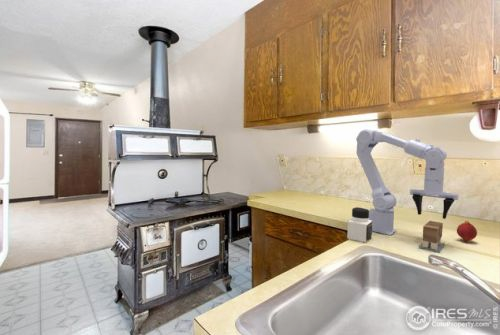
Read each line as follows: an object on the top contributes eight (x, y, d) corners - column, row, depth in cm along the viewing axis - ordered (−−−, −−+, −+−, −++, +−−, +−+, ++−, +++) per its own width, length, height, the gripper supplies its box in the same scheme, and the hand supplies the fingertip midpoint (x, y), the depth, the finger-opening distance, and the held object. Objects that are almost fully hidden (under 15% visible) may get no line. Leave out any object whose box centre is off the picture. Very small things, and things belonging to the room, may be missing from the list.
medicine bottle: (366, 243, 93) (367, 211, 93) (347, 238, 98) (347, 208, 97) (371, 238, 99) (373, 208, 98) (353, 234, 103) (354, 205, 103)
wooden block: (428, 233, 95) (429, 220, 95) (442, 236, 92) (442, 223, 92) (422, 240, 88) (423, 226, 88) (436, 243, 85) (437, 229, 85)
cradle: (439, 253, 85) (439, 244, 84) (418, 248, 89) (418, 239, 89) (444, 245, 92) (445, 237, 91) (424, 240, 96) (425, 233, 96)
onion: (466, 238, 99) (468, 218, 98) (480, 244, 93) (482, 222, 92) (452, 238, 98) (453, 218, 98) (465, 244, 93) (466, 222, 92)
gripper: (408, 179, 96) (406, 214, 97) (457, 183, 85) (454, 222, 86) (413, 177, 101) (411, 211, 102) (460, 181, 90) (457, 218, 91)
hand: (431, 216), depth 94 cm, fingers open, 7 cm apart
